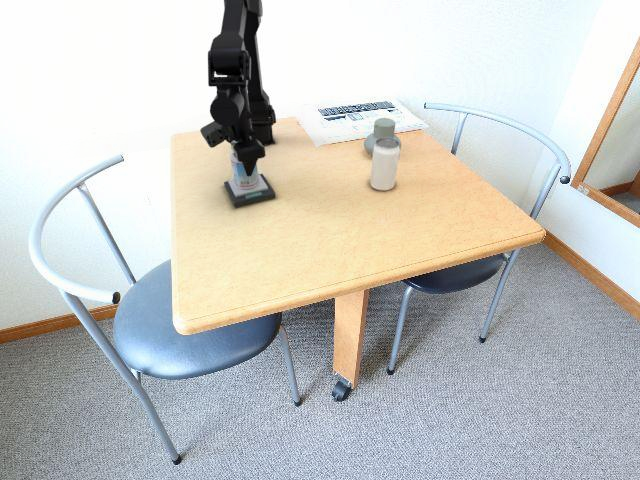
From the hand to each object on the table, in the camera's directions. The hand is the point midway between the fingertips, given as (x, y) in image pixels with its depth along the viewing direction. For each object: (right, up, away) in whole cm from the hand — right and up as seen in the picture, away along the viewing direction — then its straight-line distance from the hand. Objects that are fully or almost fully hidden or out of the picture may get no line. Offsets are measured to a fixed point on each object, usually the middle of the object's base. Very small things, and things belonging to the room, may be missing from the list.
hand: (245, 169), depth 91 cm
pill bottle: (0, -3, +3) cm, 4 cm away
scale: (0, -5, +3) cm, 6 cm away
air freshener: (+37, +8, +19) cm, 43 cm away
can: (+35, -3, +6) cm, 36 cm away
